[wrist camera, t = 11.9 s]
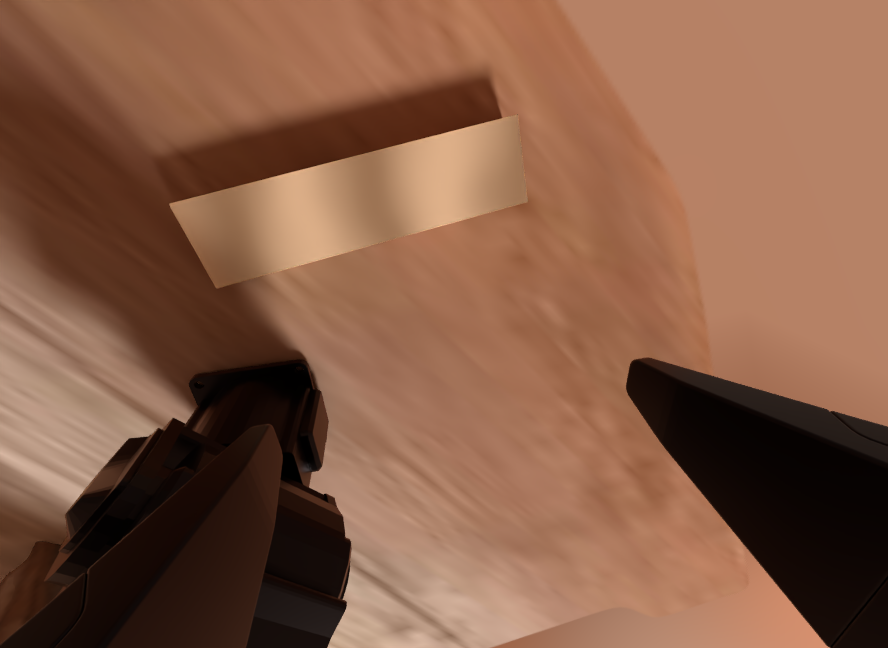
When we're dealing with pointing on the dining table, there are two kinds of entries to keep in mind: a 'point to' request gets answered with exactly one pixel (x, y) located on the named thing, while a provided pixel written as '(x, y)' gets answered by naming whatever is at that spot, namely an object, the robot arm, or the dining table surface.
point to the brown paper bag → (27, 589)
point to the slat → (355, 202)
